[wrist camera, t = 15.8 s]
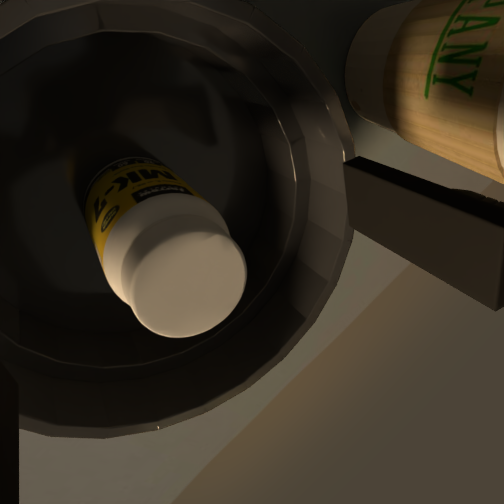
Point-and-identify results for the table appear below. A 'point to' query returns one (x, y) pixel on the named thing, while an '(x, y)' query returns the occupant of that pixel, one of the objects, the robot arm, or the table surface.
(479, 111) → the coffee cup
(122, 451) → the table surface
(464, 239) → the robot arm
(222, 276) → the supplement bottle
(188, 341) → the bowl
